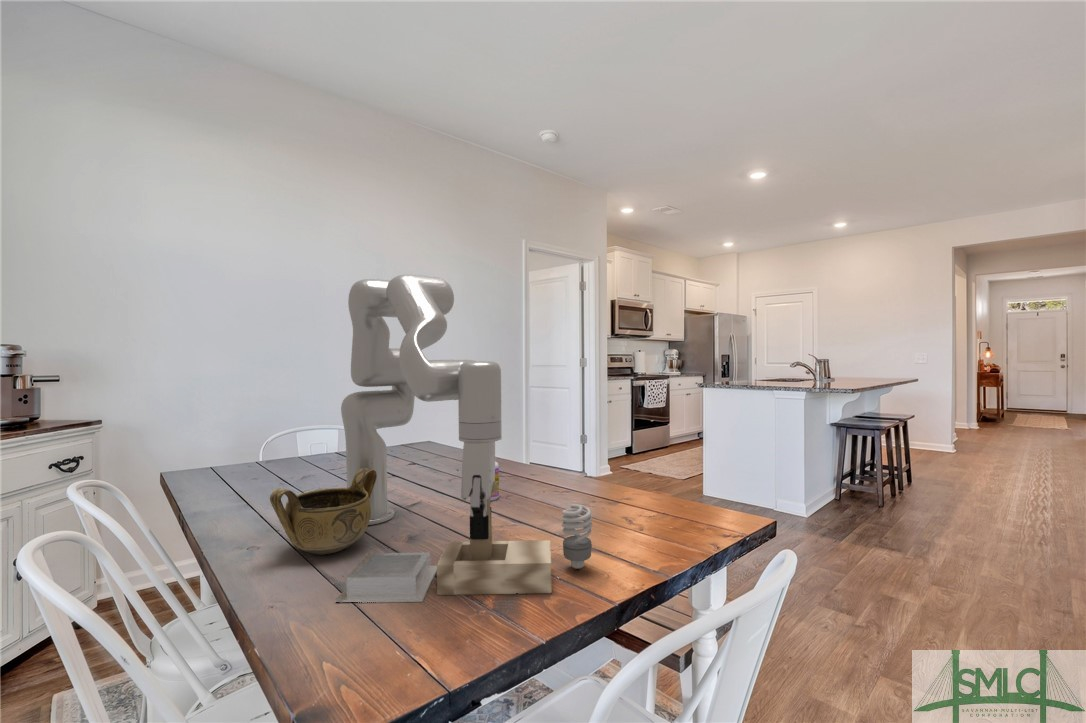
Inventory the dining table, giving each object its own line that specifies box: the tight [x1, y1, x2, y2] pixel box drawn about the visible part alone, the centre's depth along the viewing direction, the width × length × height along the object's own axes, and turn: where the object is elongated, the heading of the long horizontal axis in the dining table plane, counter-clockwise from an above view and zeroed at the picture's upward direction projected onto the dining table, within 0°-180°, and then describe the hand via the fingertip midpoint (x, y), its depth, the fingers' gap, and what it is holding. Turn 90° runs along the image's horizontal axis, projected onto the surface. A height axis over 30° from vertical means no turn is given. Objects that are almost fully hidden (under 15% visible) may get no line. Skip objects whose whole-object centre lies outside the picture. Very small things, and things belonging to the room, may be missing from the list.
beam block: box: [436, 539, 552, 596], centre depth 88 cm, size 19×10×5 cm, turn 90°
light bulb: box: [561, 503, 593, 570], centre depth 92 cm, size 6×6×12 cm
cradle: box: [335, 551, 437, 604], centre depth 87 cm, size 14×13×4 cm
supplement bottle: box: [490, 460, 500, 502], centre depth 140 cm, size 7×7×13 cm
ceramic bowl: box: [269, 468, 377, 556], centre depth 104 cm, size 22×17×15 cm
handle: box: [468, 481, 498, 561], centre depth 89 cm, size 5×6×15 cm
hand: (481, 532), depth 89 cm, fingers closed on handle, 3 cm apart
